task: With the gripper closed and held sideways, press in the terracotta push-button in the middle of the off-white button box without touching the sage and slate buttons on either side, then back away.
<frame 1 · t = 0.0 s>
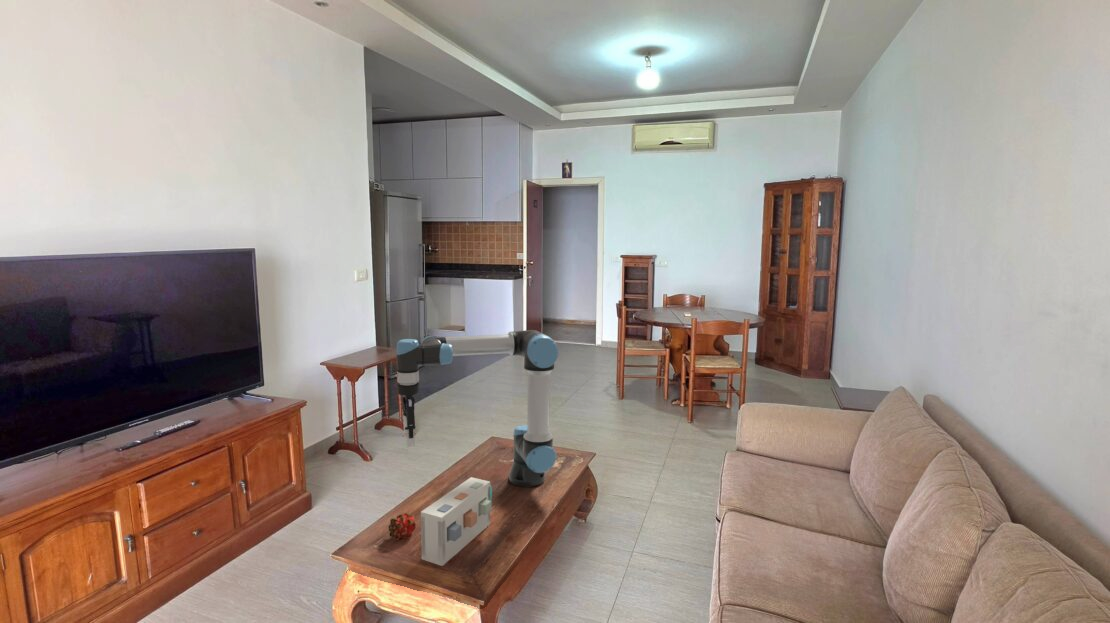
hand: (409, 439, 200), 28 cm above the table, tool pointing down, fingers open, 13 cm apart
terracotta button: (467, 518, 182), point 9 cm above the table, slide at 0.0 cm
button box: (457, 540, 185), on the table
decorative dice: (479, 505, 210), on the table
slate button: (451, 531, 174), point 9 cm above the table, slide at 0.0 cm
dragon fruit: (403, 536, 188), on the table
sage button: (482, 506, 190), point 9 cm above the table, slide at 0.0 cm
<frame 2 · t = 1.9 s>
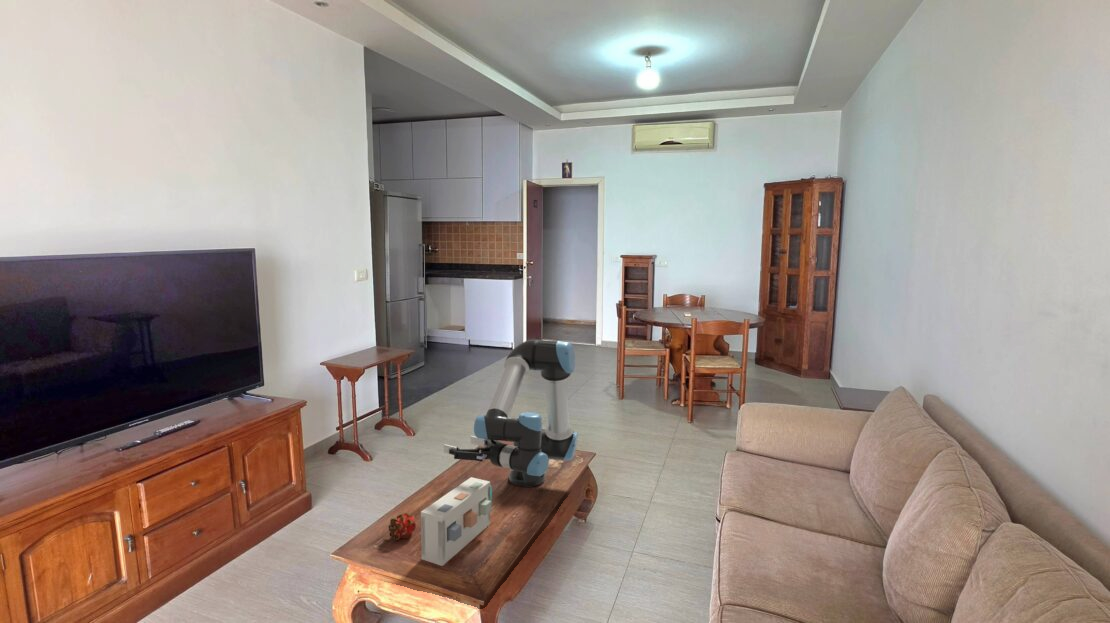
hand: (458, 443, 195), 29 cm above the table, tool horizontal, fingers open, 13 cm apart
nothing on the table moved.
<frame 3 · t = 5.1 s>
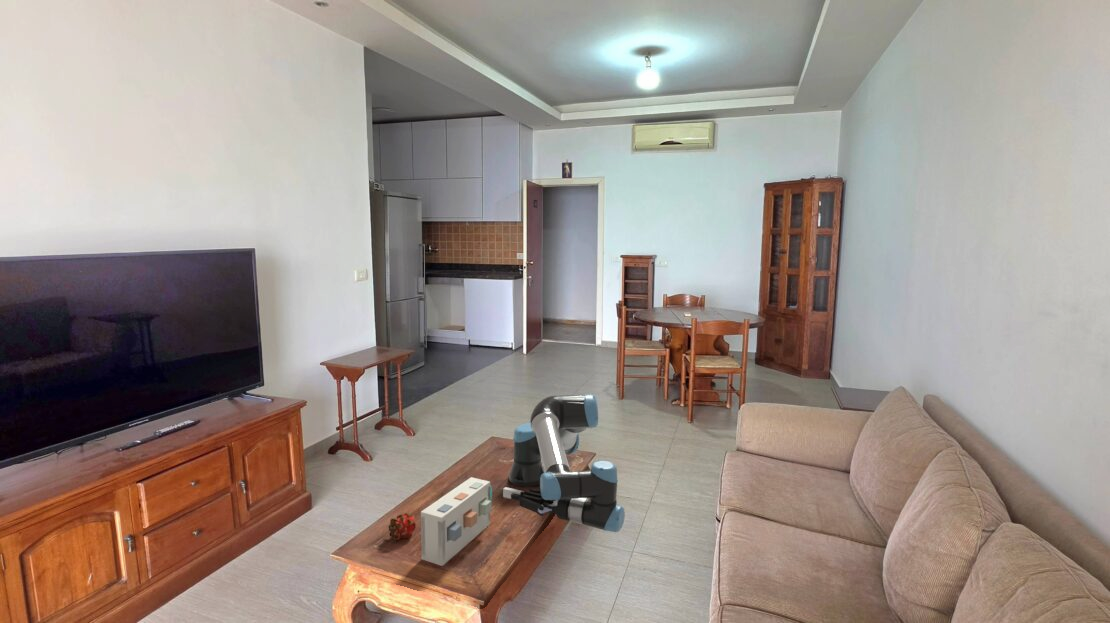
hand: (504, 491, 175), 21 cm above the table, tool horizontal, fingers closed
nothing on the table moved.
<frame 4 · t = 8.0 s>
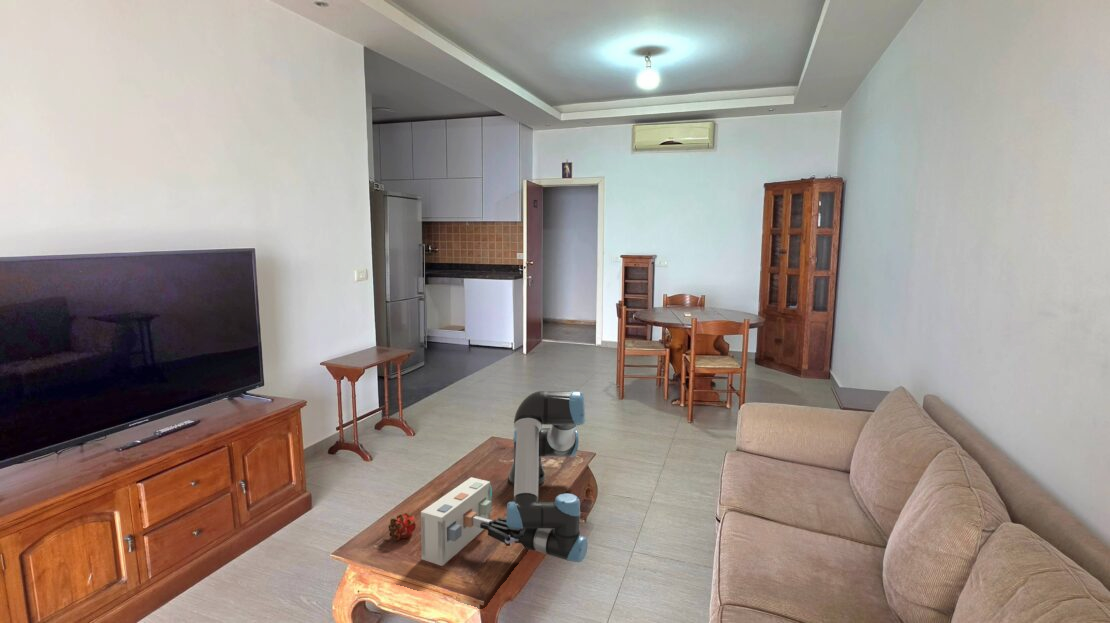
hand: (474, 520, 181), 9 cm above the table, tool horizontal, fingers closed
terracotta button: (467, 518, 182), point 9 cm above the table, slide at 0.1 cm, touching gripper
everything else where it was.
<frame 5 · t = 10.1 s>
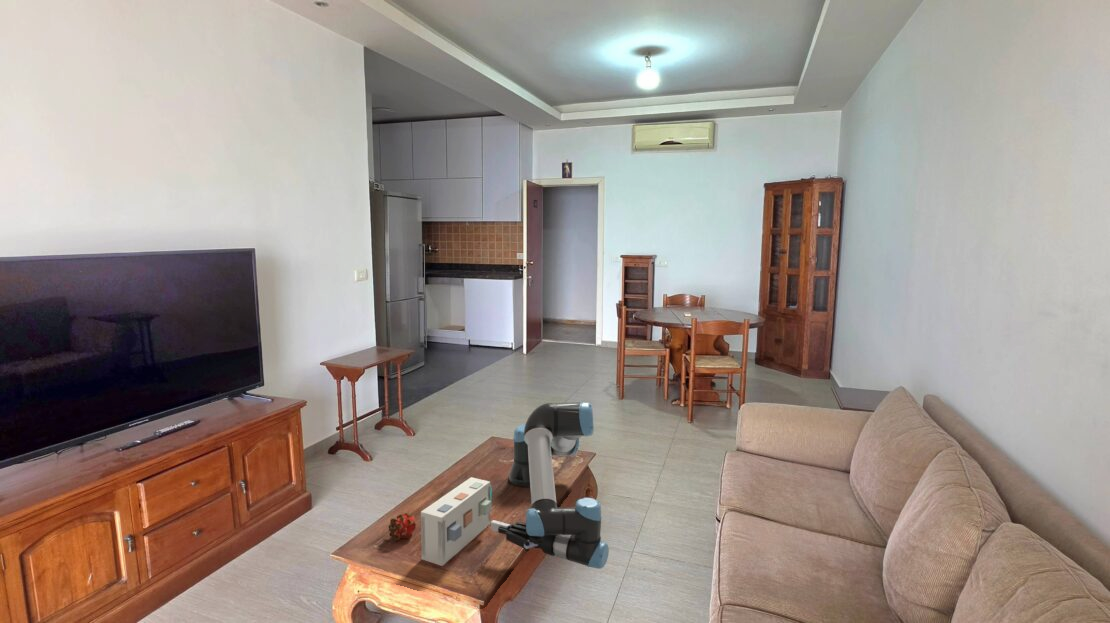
hand: (492, 524, 178), 9 cm above the table, tool horizontal, fingers closed
terracotta button: (463, 517, 183), point 9 cm above the table, slide at 1.9 cm
everything else where it was.
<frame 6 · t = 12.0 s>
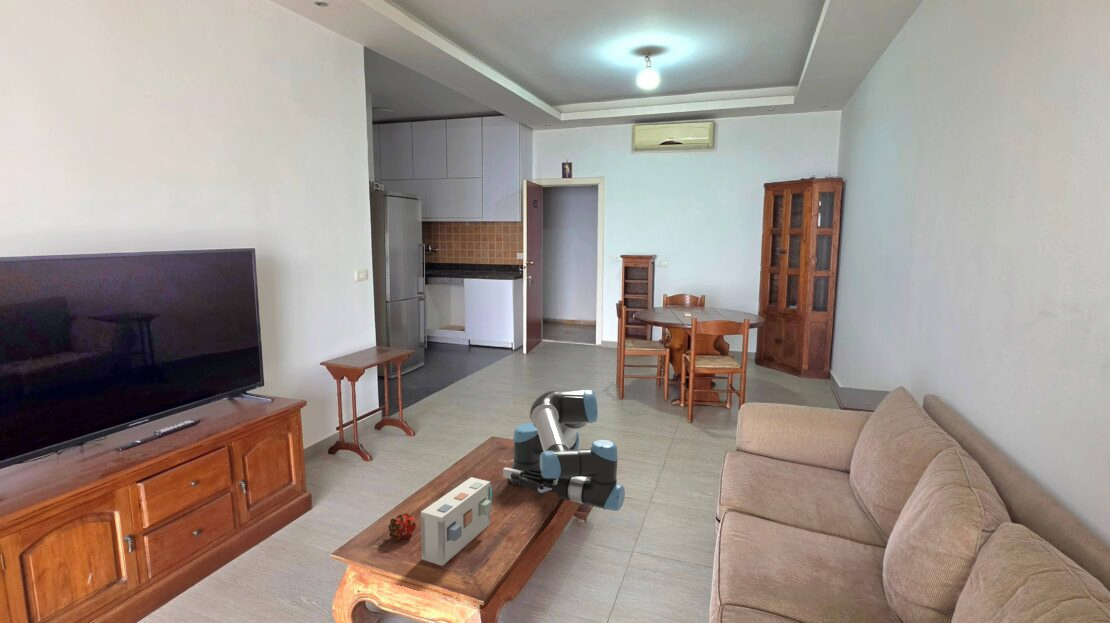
hand: (504, 472, 174), 28 cm above the table, tool horizontal, fingers closed
nothing on the table moved.
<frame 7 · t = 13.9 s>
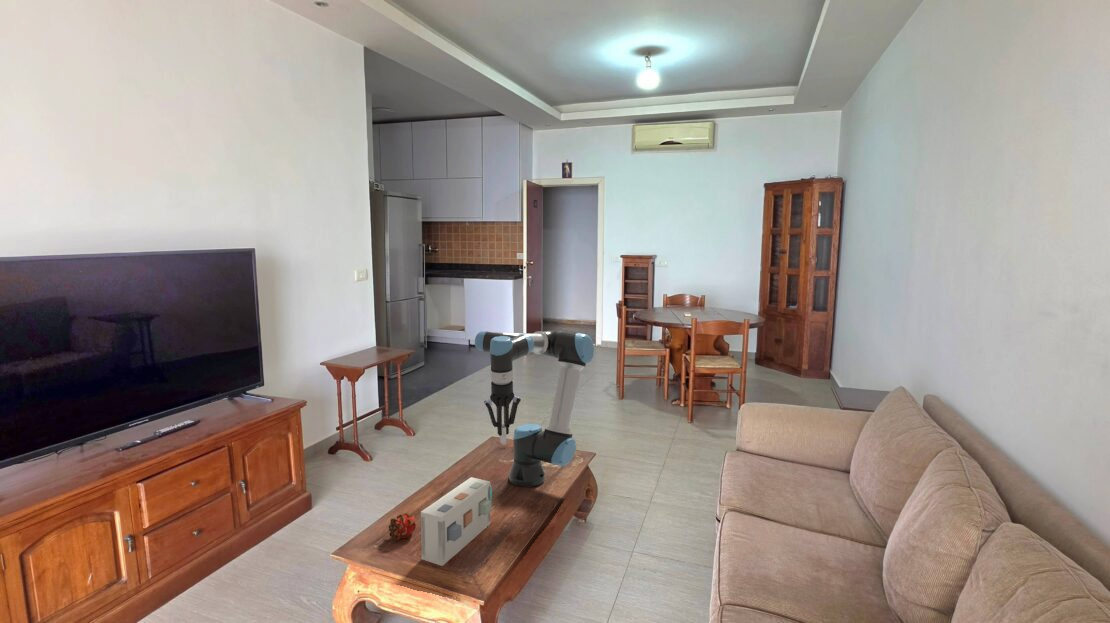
hand: (503, 442, 196), 29 cm above the table, tool pointing down, fingers closed
nothing on the table moved.
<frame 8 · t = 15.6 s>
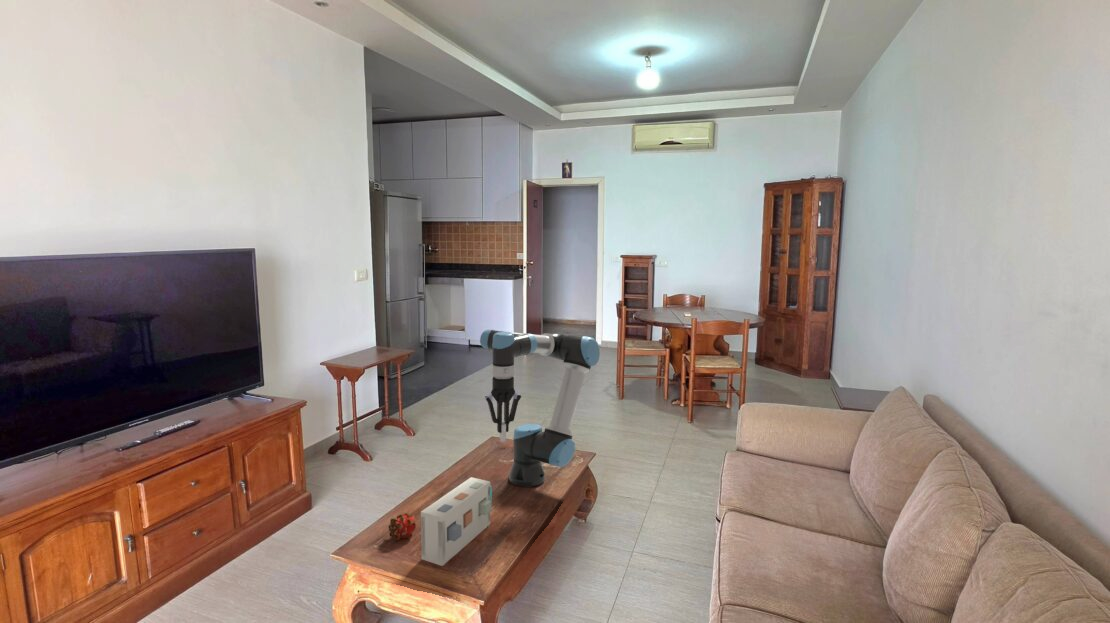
hand: (502, 440, 197), 29 cm above the table, tool pointing down, fingers closed
nothing on the table moved.
at the end: terracotta button slide at 1.9 cm; sage button slide at 0.0 cm; slate button slide at 0.0 cm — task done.
